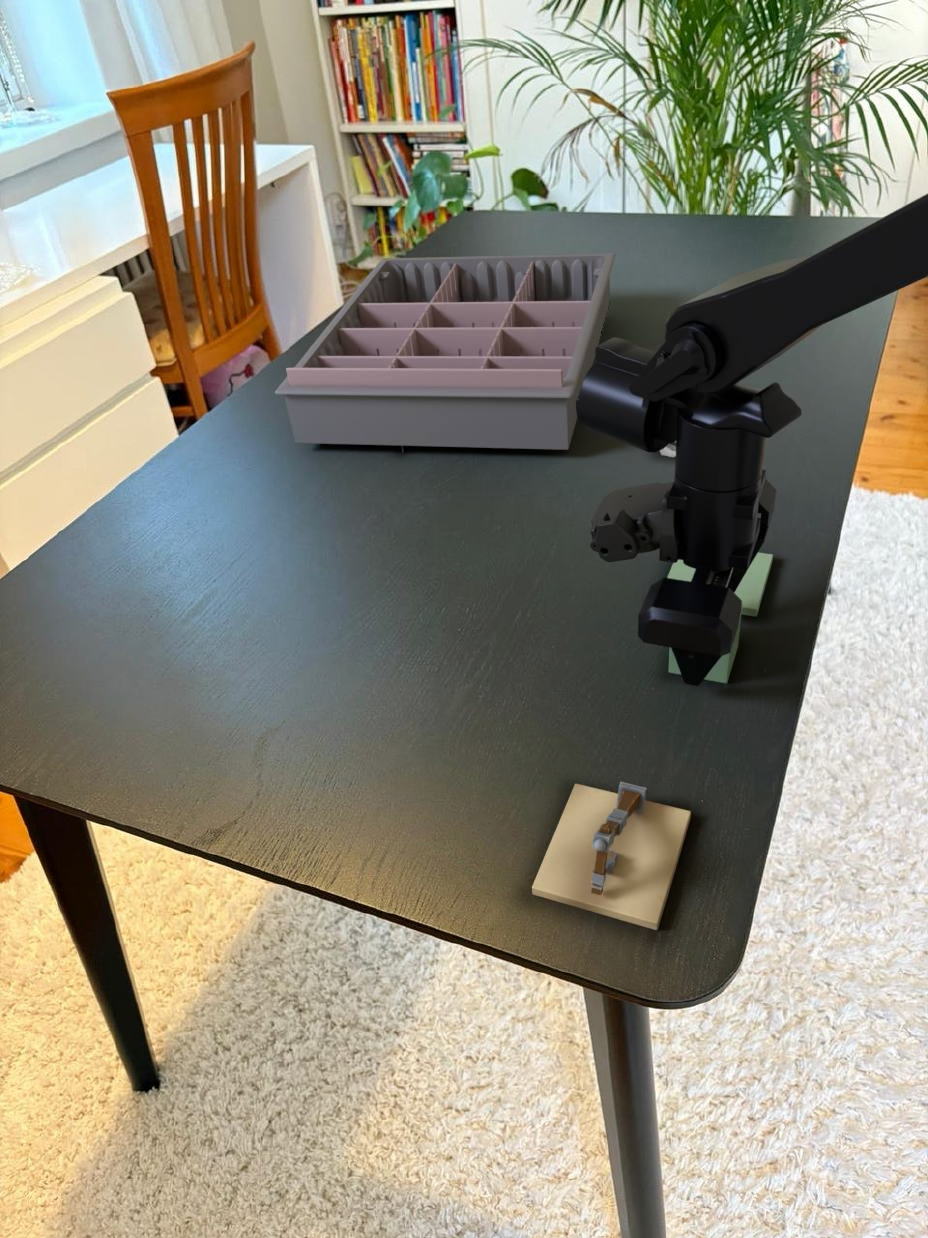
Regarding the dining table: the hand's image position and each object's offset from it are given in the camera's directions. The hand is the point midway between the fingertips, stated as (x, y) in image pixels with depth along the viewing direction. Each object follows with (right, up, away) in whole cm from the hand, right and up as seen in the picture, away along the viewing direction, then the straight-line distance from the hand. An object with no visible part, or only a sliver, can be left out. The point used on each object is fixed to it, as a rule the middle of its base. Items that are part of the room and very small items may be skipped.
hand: (705, 644), depth 76 cm
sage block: (0, -1, +1) cm, 2 cm away
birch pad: (-9, -13, -12) cm, 20 cm away
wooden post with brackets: (-9, -13, -13) cm, 20 cm away
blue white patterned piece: (+5, +20, +27) cm, 34 cm away
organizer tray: (-18, +31, +44) cm, 57 cm away
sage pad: (+3, +5, +9) cm, 10 cm away
